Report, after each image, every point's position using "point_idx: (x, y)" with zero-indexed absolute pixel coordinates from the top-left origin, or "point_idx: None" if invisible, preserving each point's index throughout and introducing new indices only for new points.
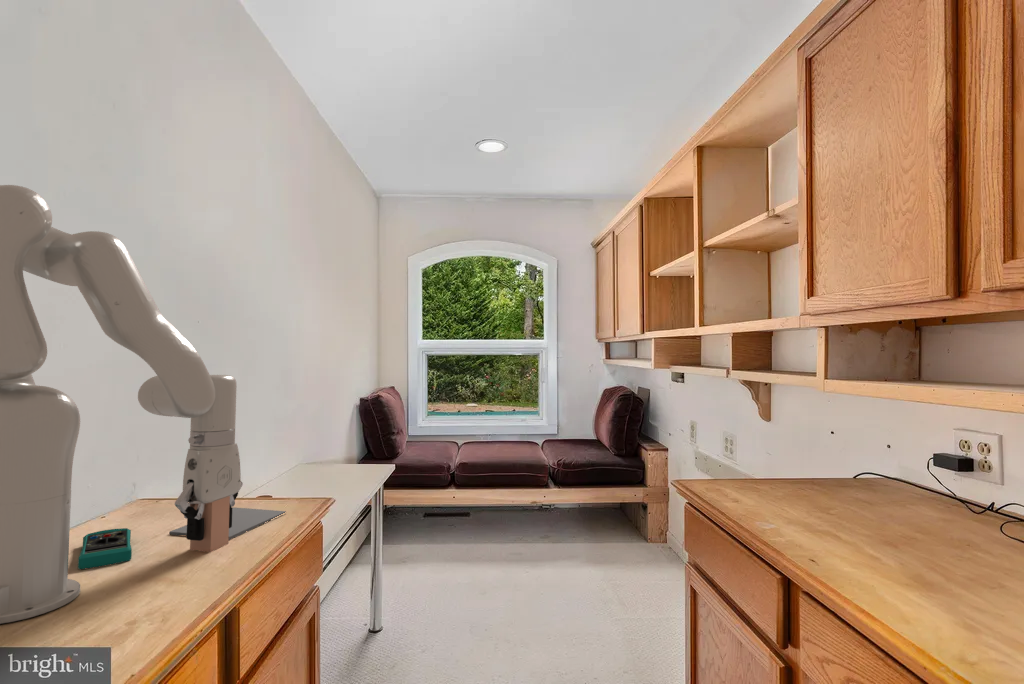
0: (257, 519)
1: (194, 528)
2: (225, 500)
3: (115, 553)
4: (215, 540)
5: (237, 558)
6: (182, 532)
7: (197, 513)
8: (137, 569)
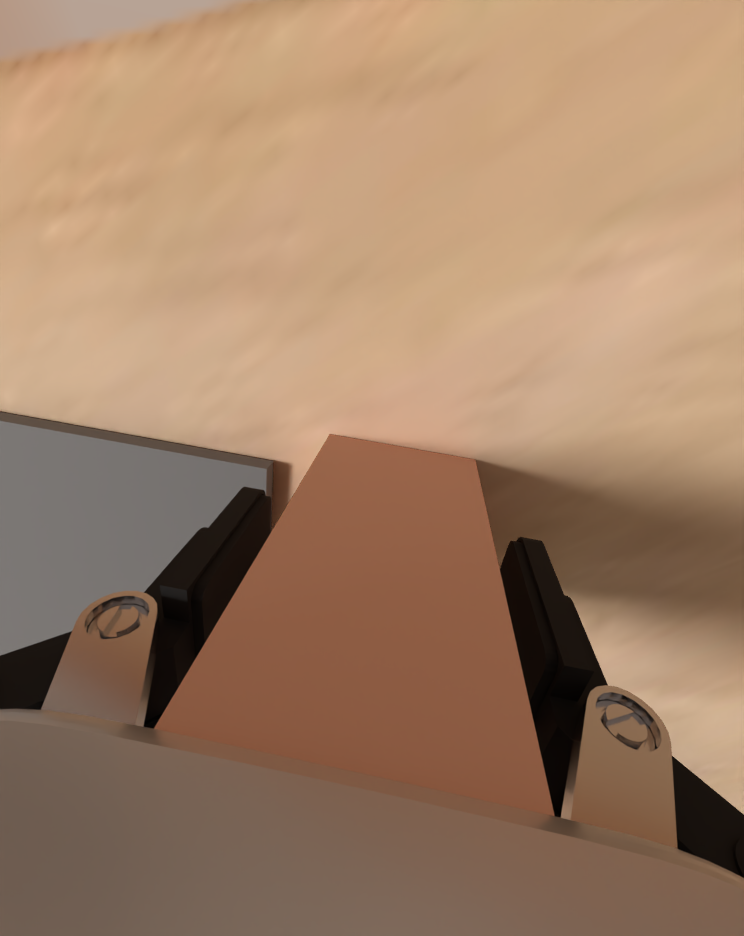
0: None
1: (584, 641)
2: (269, 702)
3: None
4: (438, 479)
5: (620, 194)
6: None
7: (666, 766)
8: (704, 655)
